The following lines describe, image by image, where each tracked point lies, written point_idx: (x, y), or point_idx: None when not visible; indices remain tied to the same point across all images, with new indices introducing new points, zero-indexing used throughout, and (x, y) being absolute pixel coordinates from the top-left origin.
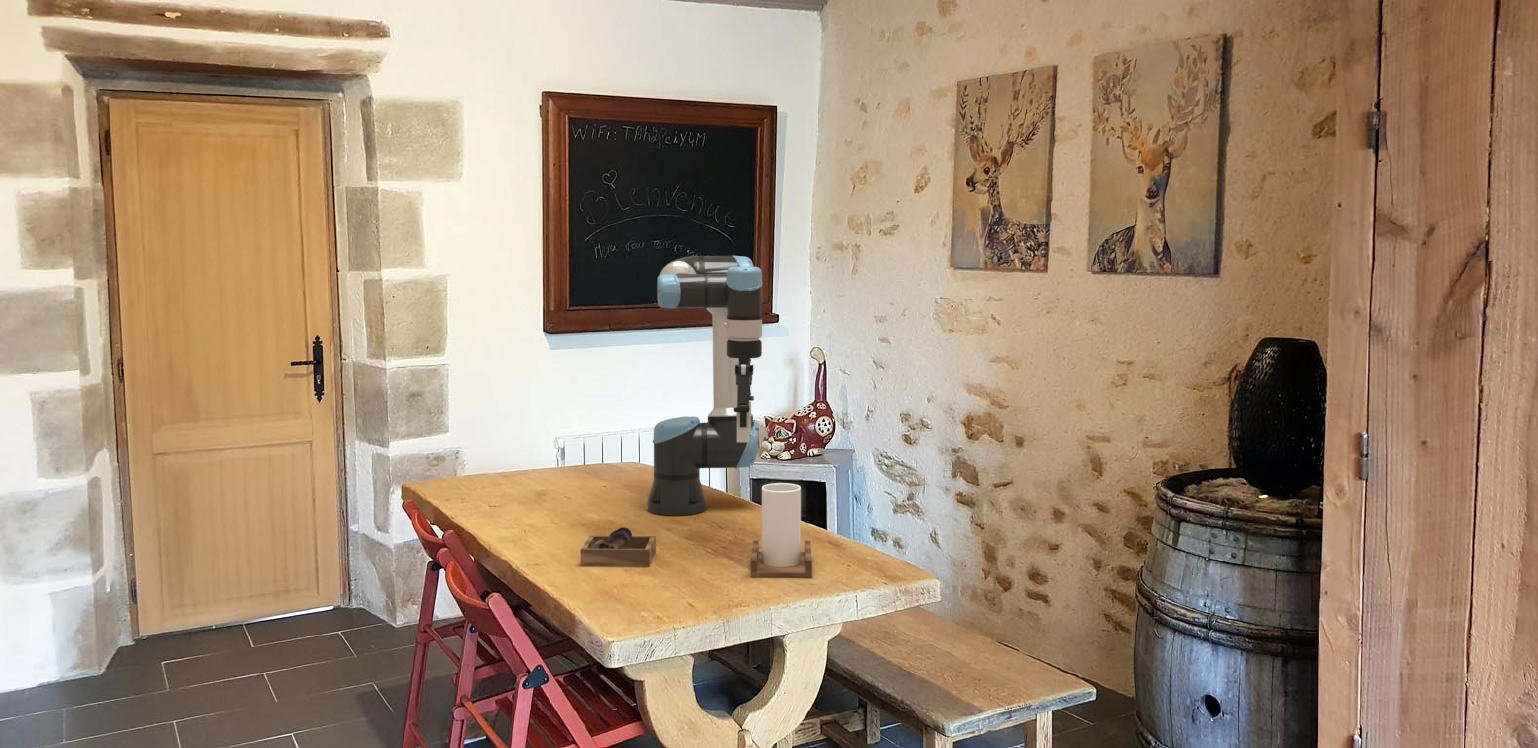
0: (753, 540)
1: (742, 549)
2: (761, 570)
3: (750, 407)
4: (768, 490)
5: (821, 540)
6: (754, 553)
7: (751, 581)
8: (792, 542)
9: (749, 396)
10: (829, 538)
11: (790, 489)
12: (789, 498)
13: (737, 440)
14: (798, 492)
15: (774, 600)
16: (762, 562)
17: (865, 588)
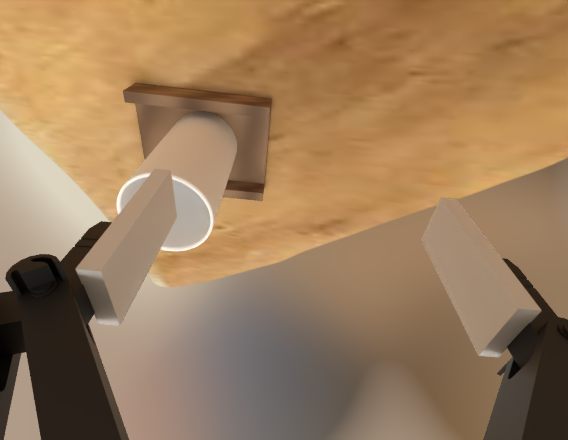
0: (266, 108)
1: (319, 81)
2: (148, 105)
3: (465, 324)
4: (123, 185)
5: (352, 212)
6: (173, 102)
7: (113, 82)
8: None
9: (502, 384)
10: (360, 223)
11: (207, 228)
12: None
13: (151, 175)
14: None
15: (21, 111)
16: (193, 112)
17: None
